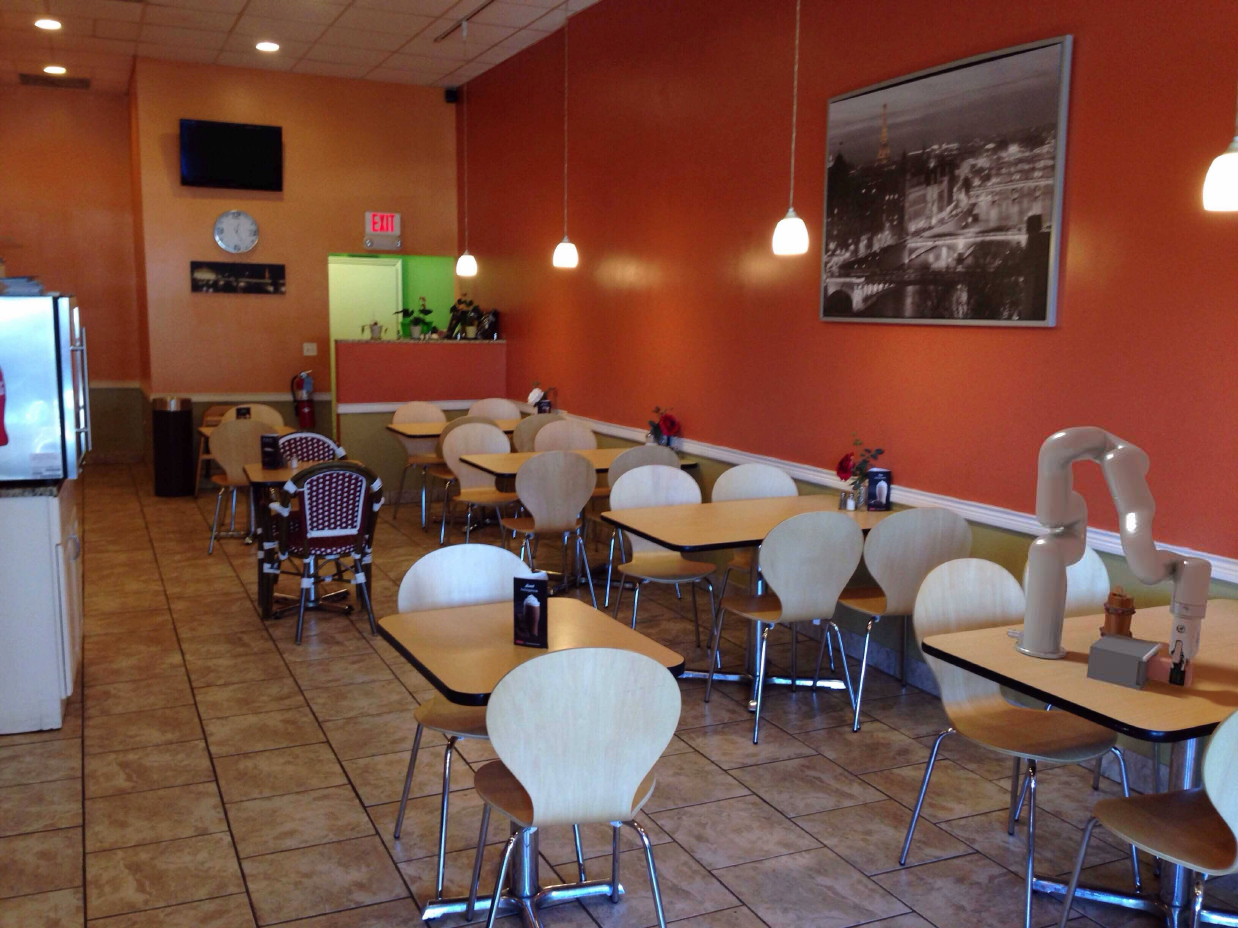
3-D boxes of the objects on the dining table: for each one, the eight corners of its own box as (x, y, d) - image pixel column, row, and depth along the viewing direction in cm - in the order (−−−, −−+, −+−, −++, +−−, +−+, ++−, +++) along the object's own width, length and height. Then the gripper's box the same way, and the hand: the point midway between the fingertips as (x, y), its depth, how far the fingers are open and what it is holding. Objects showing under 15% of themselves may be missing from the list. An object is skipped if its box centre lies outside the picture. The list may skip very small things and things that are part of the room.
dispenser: (1086, 676, 255) (1090, 644, 254) (1104, 662, 267) (1108, 631, 266) (1142, 690, 247) (1146, 657, 246) (1158, 674, 259) (1162, 643, 258)
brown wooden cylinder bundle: (1133, 652, 276) (1140, 598, 274) (1099, 648, 279) (1106, 593, 277) (1127, 637, 290) (1133, 585, 288) (1095, 633, 293) (1101, 581, 290)
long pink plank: (1107, 668, 258) (1109, 648, 257) (1110, 665, 260) (1113, 646, 260) (1188, 687, 247) (1190, 667, 246) (1190, 684, 249) (1193, 664, 248)
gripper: (1198, 619, 238) (1187, 695, 241) (1212, 605, 251) (1202, 678, 253) (1162, 612, 243) (1152, 687, 245) (1178, 599, 255) (1168, 670, 258)
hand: (1178, 682), depth 249 cm, fingers closed on long pink plank, 3 cm apart
